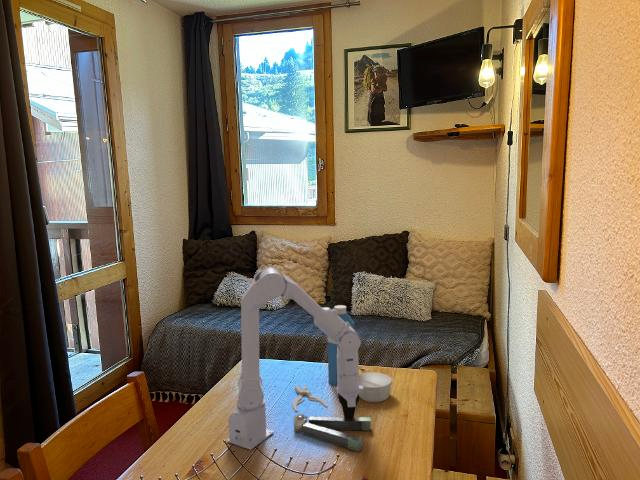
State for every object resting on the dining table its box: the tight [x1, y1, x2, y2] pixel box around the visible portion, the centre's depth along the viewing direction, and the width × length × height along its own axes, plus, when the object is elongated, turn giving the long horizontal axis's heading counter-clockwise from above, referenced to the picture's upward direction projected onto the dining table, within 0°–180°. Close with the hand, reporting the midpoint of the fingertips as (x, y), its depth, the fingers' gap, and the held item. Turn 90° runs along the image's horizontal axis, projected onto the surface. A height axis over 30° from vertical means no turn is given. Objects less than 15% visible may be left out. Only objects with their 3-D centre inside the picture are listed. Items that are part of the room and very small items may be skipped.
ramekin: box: [358, 372, 393, 403], centre depth 146 cm, size 11×11×5 cm
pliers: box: [292, 384, 328, 413], centre depth 145 cm, size 10×2×15 cm
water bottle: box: [327, 304, 355, 387], centre depth 156 cm, size 9×9×25 cm
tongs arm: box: [308, 416, 372, 431], centre depth 126 cm, size 2×16×3 cm, turn 83°
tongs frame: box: [293, 413, 364, 453], centre depth 122 cm, size 4×20×4 cm, turn 58°
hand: (348, 420), depth 128 cm, fingers closed
